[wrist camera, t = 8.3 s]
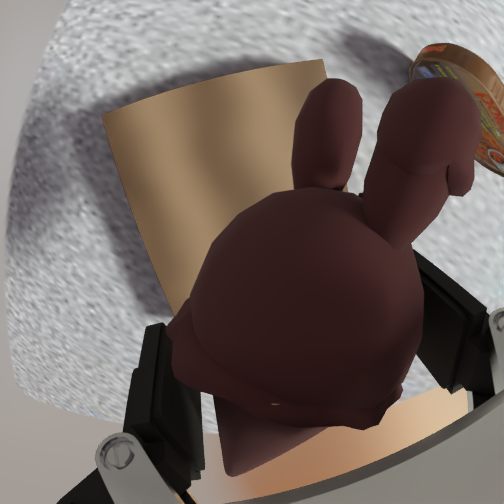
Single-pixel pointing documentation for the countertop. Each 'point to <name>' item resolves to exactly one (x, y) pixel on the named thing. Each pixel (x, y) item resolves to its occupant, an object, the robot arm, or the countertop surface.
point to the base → (206, 160)
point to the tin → (480, 88)
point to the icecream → (325, 273)
